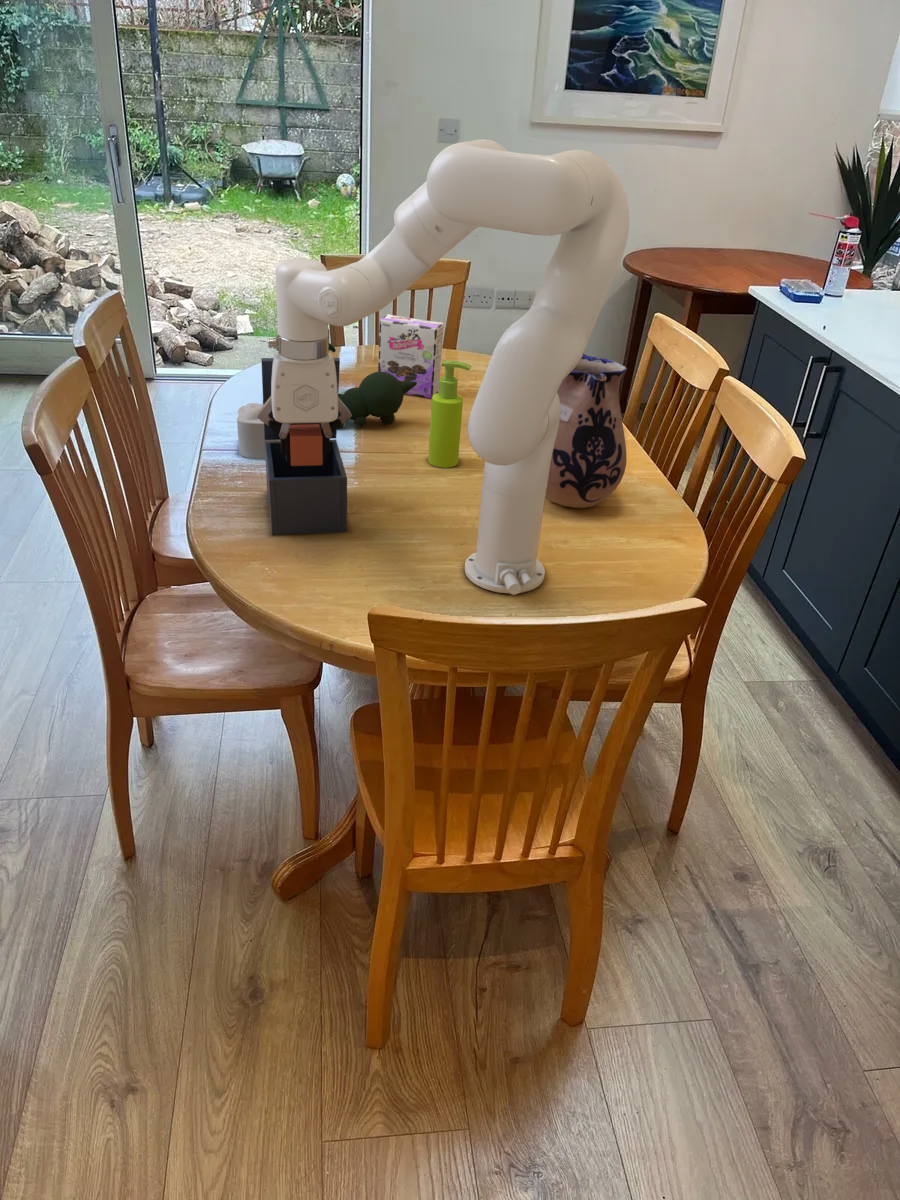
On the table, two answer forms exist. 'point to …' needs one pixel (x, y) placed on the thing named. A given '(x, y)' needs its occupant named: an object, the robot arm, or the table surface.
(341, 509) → the chest
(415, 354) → the candy box
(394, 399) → the toy figurine
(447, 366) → the soap dispenser
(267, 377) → the lid
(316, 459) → the block
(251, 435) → the lumpy-topped squat cylinder
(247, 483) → the table surface
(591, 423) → the ceramic pitcher
